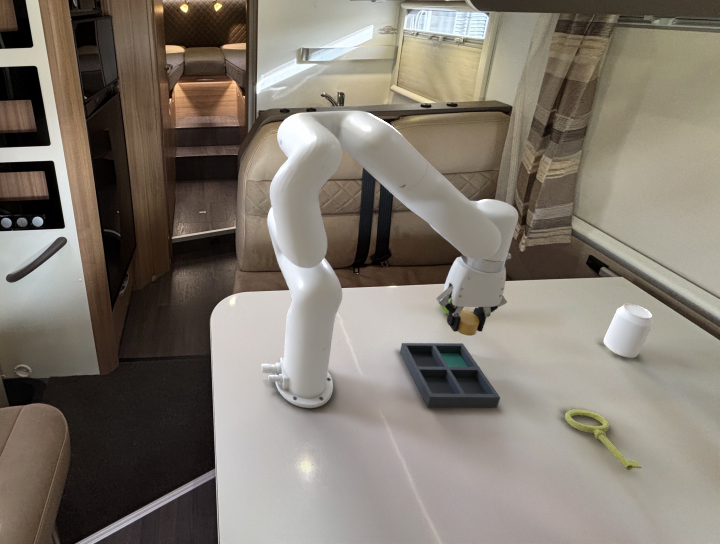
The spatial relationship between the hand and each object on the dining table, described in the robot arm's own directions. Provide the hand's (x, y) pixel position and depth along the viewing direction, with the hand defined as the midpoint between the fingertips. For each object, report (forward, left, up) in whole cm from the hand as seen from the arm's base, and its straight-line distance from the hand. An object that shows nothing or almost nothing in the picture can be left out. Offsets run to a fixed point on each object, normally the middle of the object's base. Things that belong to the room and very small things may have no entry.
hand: (464, 326), depth 94 cm
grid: (-4, -3, -12) cm, 13 cm away
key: (+19, -17, -12) cm, 28 cm away
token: (0, 0, 0) cm, 0 cm away
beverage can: (+42, +5, -12) cm, 44 cm away
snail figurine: (+8, +18, -12) cm, 23 cm away
